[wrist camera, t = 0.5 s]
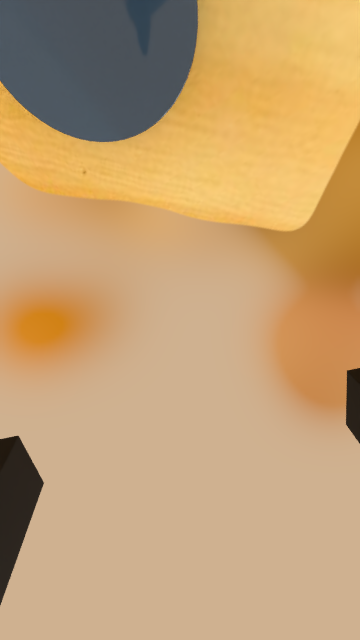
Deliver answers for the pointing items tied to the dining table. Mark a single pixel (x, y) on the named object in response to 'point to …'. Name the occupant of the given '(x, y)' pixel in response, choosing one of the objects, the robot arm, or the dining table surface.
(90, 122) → the plate
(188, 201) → the dining table surface
